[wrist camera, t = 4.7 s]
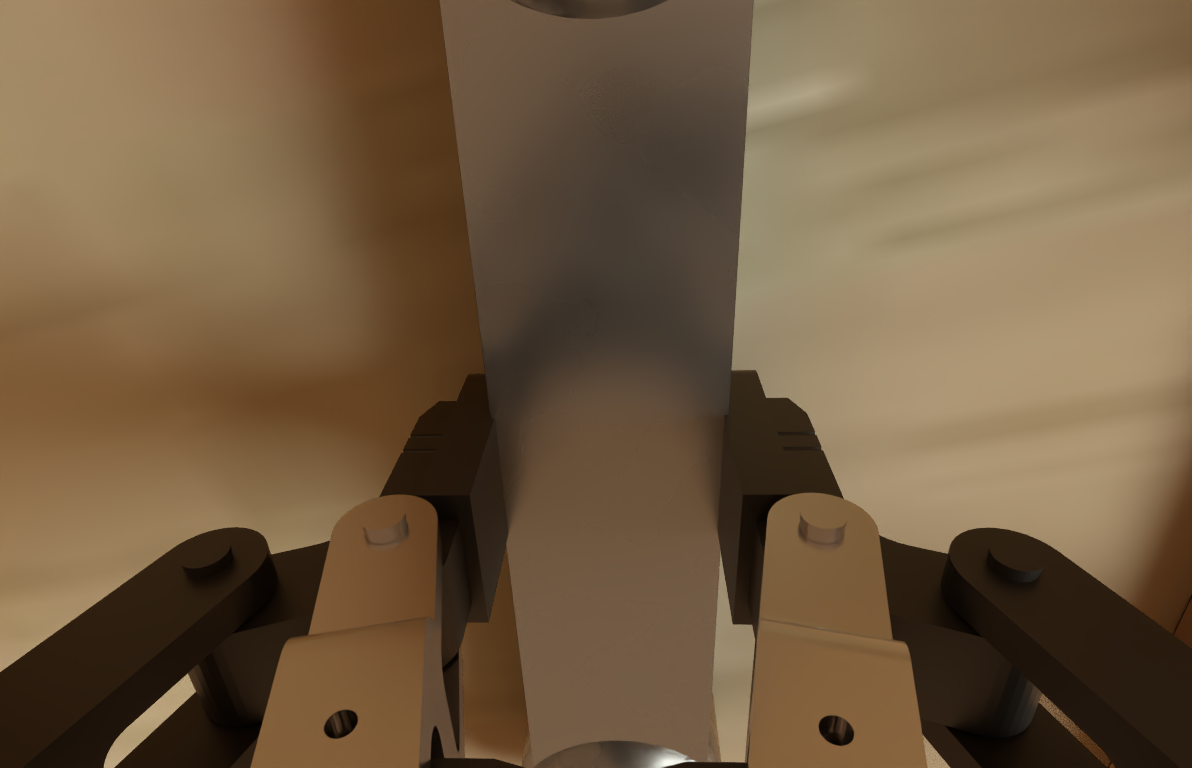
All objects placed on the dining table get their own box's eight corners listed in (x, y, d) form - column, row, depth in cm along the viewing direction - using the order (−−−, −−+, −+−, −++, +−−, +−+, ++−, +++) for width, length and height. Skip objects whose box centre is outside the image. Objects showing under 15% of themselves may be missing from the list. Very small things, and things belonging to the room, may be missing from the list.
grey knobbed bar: (401, -404, 8) (318, -552, 6) (785, -431, 8) (845, -595, 6) (538, 760, 18) (525, 864, 16) (710, 763, 18) (721, 868, 16)
